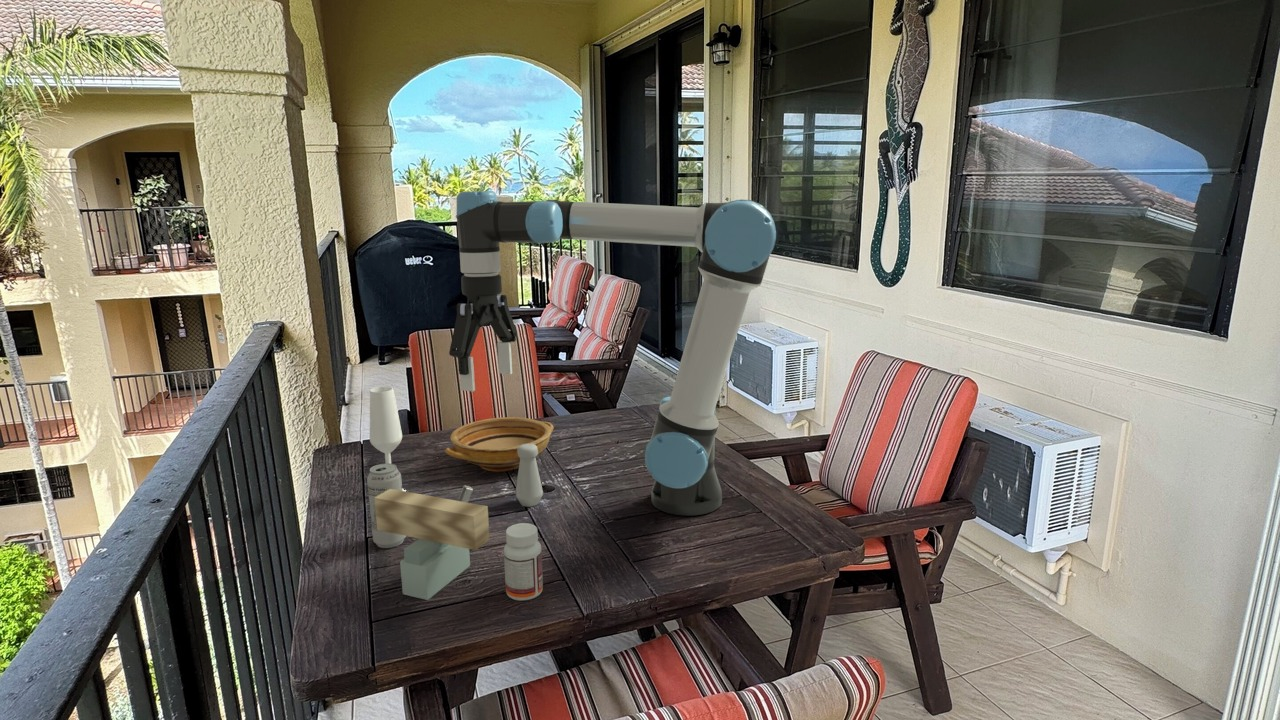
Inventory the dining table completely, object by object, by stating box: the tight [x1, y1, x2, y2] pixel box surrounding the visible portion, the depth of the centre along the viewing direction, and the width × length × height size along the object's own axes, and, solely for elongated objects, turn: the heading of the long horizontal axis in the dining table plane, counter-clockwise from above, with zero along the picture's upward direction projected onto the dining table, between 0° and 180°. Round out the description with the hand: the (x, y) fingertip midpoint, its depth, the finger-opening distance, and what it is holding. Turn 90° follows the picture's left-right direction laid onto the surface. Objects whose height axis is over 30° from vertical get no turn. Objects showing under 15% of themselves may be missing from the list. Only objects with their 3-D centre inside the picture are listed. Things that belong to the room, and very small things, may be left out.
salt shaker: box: [515, 444, 544, 508], centre depth 153 cm, size 6×6×13 cm
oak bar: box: [374, 489, 491, 551], centre depth 122 cm, size 20×4×6 cm, turn 68°
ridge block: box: [399, 538, 471, 601], centre depth 124 cm, size 5×12×8 cm, turn 158°
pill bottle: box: [503, 522, 544, 601], centre depth 119 cm, size 6×6×11 cm
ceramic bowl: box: [444, 416, 554, 472], centre depth 177 cm, size 30×24×8 cm
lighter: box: [457, 484, 473, 503], centre depth 143 cm, size 7×2×8 cm, turn 125°
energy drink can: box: [366, 462, 407, 549], centre depth 136 cm, size 6×6×15 cm
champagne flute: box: [369, 386, 407, 492], centre depth 157 cm, size 7×7×24 cm
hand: (487, 381), depth 143 cm, fingers open, 13 cm apart
